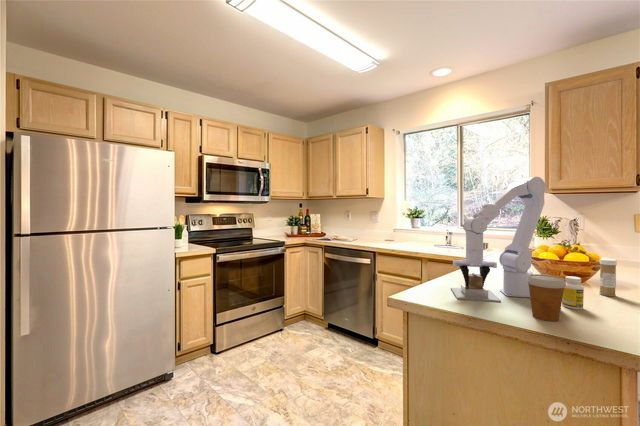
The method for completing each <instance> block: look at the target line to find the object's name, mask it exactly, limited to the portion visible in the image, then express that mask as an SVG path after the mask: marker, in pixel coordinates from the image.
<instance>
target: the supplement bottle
mask: <svg viewBox="0 0 640 426" xmlns="http://www.w3.org/2000/svg"><path fill="white" fill-rule="evenodd" d="M564 281H565V283H566V286H565V288H564V292H563V298H562V304H561V306H563V307H564V308H567V309H573V310H583V309H584V299H585V298H584V296H585V295H584V292H585V287H584V286H583V285H582V284H581V283H582V278H581V277H580V276H579V277H578V276H573V275H572V276H569V275H568V276H567V275H566V276H565V278H564Z"/></svg>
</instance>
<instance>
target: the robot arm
mask: <svg viewBox="0 0 640 426" xmlns="http://www.w3.org/2000/svg"><path fill="white" fill-rule="evenodd" d="M547 188H548V185H547V184H546V183H545V181H544V179H543V178H542V177H540V176H532V177H528V178H527V177H526V178H516V179H515V180H513V182H512V183H510V184H509V185H508V187H507V188H506V189H505V190H504V191H503V192H502V193H501V194H500V195H499V196H498V197H496V199H495V200H494V201H493V202H488V203H484V204H482V205H481V208H480V209H479V210H478V211H477V212H474V213H473V214H472V216H471V217H468V218H466V219H465V220H464V223H463V224H462V228H463V230H464V231H465V259H463V260H460V259H459V260H457V259H456V260H452V266H453V267H459V269H460V271H461V273H462V276H463V280H464V284H465V285H466V286H468V285H469V281H468V275H469V274H470V273H469V272H470V269H469V267H472V268H473V267H474V268H479V274H480V275H481V276H482V277H483V286H484V287H485V281H486V279H487V277H488V275H489V273H490V272H491V268H494V269H498V267H497V265H498V262H496V261H487V260H484V232H486V231H487V228H488V225H489V224H490V223H491V222H493V221H494V220H495V219H496V218H497V217H498V216H499V215H500V214H501V209H502V208H504V207H505V206H506V205H508V204H509V203H510V202H511V201H512V200H514V199H515V198H519V199H520V200H521V201H522V202H523V204H524V208H523V211H522V214H521V215H520V216H521V217H520V220H519V222H518V225H517V228H516V230H515V233H514V236H513V239H512V241H511V243H510V244H508V245H507V246H506V247H505V248H504V250H503V252H502V253H501V254H500V255H499V258H498V259H499V264H500V265H501V266H502V270H503V284H502V285H503V288H502V289H499V291H500V292H501V293H502V294H503V295H505V296H506V297H517V298H518V297H519V298H530V292H529V284H528V282H527V279H528V275H531V274H534V273H533V272H532V271H529V270H530V269H531V266H532V257H533V253H532V252H531V250H530V249H529V247H530V245H531V241H532V239H533V236H534V234H535V231H536V228H537V226H538V223H539V220H540V217H541V214H542V213H543V209H544V206H545V193H546V190H547Z"/></svg>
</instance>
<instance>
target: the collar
mask: <svg viewBox="0 0 640 426" xmlns="http://www.w3.org/2000/svg"><path fill="white" fill-rule="evenodd" d="M460 288H461V291H462V292H463V294H464V295H465V296H476V297H488V290H489V289H488V288H486V286H485V285H484V286H483V289H469V288H467V286H466V285H465V283H461V284H460Z"/></svg>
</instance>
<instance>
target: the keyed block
mask: <svg viewBox="0 0 640 426" xmlns="http://www.w3.org/2000/svg"><path fill="white" fill-rule="evenodd" d="M468 281H469V285H468V286H467V288H469V289H483V277H482V276H481V275H480V273H475V272H472V273H469V275H468Z"/></svg>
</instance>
